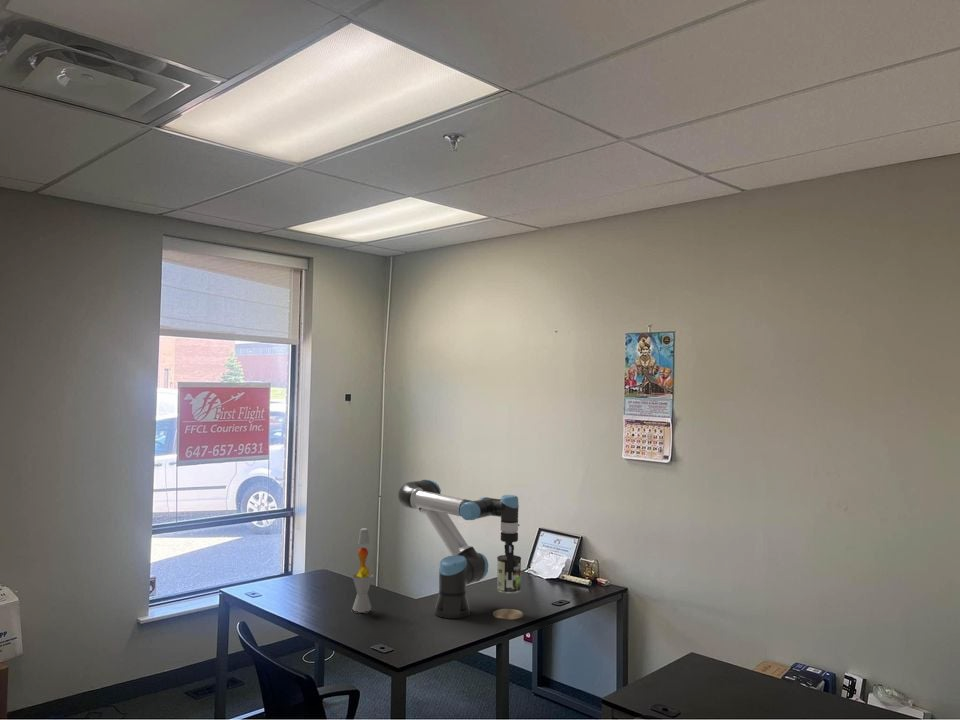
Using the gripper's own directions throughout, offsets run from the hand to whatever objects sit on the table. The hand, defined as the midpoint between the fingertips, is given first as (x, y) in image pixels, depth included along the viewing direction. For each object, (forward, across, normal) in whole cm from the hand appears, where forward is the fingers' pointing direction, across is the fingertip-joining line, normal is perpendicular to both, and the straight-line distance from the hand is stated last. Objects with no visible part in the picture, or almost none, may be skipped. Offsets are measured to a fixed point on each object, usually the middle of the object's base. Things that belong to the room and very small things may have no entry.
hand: (508, 584), depth 300 cm
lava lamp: (+13, +3, +63) cm, 65 cm away
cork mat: (+13, 0, 0) cm, 13 cm away
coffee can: (+3, 0, 0) cm, 3 cm away
